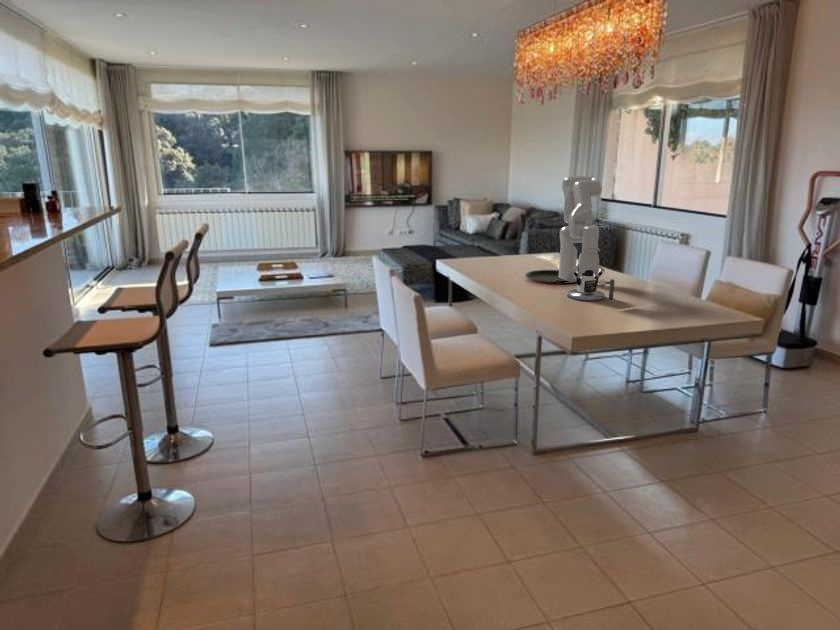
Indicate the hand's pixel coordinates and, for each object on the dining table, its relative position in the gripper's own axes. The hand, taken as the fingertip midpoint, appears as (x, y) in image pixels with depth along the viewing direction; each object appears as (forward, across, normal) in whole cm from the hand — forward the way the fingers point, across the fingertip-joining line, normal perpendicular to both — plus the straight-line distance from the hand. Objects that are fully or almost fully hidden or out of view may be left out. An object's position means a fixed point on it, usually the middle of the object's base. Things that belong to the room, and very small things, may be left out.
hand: (586, 284), depth 291 cm
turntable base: (+7, 0, 0) cm, 7 cm away
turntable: (+6, 0, 0) cm, 6 cm away
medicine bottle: (+4, 0, 0) cm, 4 cm away
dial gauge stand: (+7, -9, +5) cm, 13 cm away
